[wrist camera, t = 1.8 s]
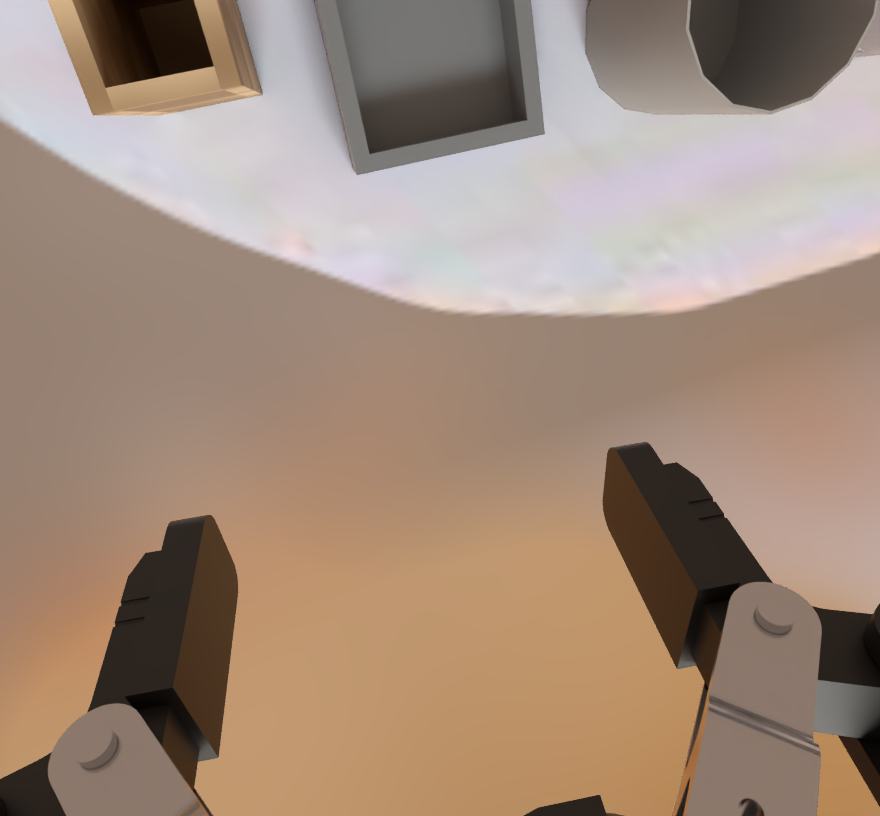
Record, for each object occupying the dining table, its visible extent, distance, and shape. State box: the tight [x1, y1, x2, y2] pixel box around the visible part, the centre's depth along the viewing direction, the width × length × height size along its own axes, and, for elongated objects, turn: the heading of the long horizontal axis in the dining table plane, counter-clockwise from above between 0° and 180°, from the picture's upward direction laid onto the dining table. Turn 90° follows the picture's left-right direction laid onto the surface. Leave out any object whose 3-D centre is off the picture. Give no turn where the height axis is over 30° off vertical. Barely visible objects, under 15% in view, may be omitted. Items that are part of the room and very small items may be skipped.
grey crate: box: [314, 0, 545, 175], centre depth 31 cm, size 10×10×3 cm
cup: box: [585, 0, 879, 115], centre depth 29 cm, size 8×8×10 cm
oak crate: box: [48, 0, 263, 115], centre depth 25 cm, size 5×5×11 cm
